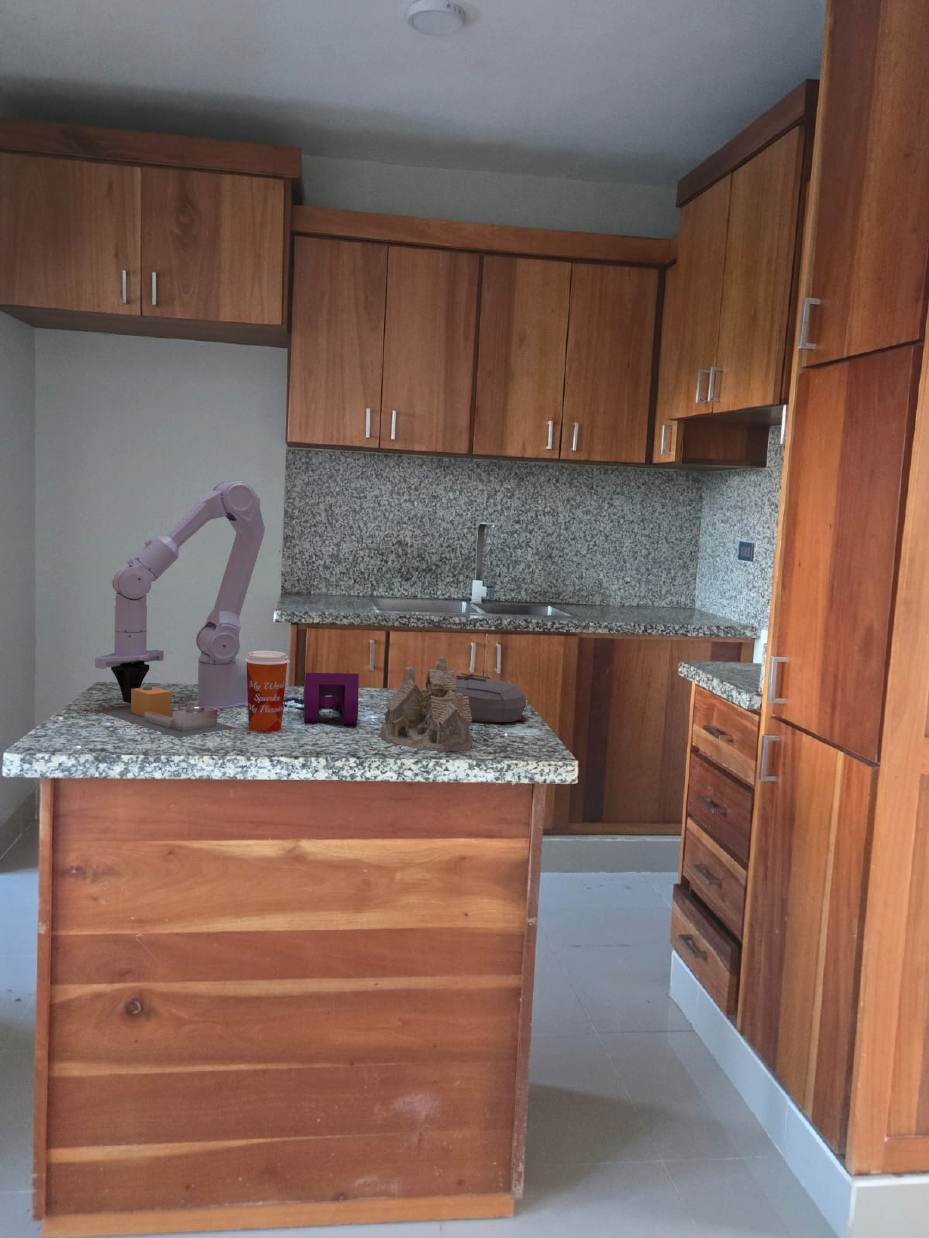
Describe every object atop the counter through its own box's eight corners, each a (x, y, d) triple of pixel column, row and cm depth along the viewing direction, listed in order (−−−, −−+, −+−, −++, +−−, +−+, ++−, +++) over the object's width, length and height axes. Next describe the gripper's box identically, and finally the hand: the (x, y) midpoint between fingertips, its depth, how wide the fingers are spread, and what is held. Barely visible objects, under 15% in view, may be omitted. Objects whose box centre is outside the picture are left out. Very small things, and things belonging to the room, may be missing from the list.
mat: (151, 705, 194) (151, 702, 194) (236, 731, 177) (236, 727, 177) (94, 713, 185) (94, 710, 185) (177, 740, 168) (177, 737, 168)
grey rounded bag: (417, 718, 196) (515, 729, 190) (418, 676, 195) (518, 686, 189) (441, 704, 211) (533, 715, 205) (443, 665, 210) (536, 675, 204)
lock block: (152, 709, 188) (153, 684, 188) (170, 715, 184) (171, 689, 184) (131, 712, 185) (131, 687, 184) (148, 718, 181) (149, 692, 180)
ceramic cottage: (378, 729, 184) (385, 649, 181) (466, 734, 186) (474, 656, 183) (380, 755, 168) (387, 669, 166) (476, 761, 170) (485, 676, 168)
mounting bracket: (302, 740, 198) (304, 718, 181) (303, 698, 201) (305, 672, 184) (351, 741, 200) (358, 719, 182) (351, 698, 203) (358, 673, 185)
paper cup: (244, 736, 173) (246, 656, 172) (241, 726, 181) (243, 649, 179) (289, 735, 175) (292, 657, 174) (285, 726, 183) (287, 650, 181)
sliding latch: (183, 715, 185) (184, 694, 184) (219, 725, 178) (220, 704, 177) (144, 720, 179) (145, 699, 178) (180, 732, 171) (180, 710, 171)
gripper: (113, 636, 179) (113, 710, 181) (175, 629, 192) (174, 699, 193) (87, 632, 183) (87, 705, 184) (149, 626, 195) (148, 694, 197)
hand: (129, 701), depth 189 cm, fingers closed
